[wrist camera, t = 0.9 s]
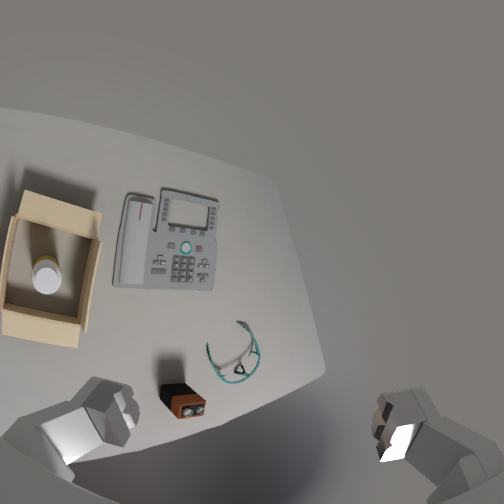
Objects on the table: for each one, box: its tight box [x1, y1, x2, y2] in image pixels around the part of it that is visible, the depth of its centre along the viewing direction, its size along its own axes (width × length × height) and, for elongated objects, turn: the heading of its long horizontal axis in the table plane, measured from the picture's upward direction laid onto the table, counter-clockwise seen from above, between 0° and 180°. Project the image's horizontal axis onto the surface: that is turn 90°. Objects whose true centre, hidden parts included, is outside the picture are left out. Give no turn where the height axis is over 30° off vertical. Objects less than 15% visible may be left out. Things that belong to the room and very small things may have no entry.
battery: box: [160, 383, 206, 419], centre depth 55 cm, size 4×7×10 cm, turn 73°
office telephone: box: [112, 190, 220, 291], centre depth 55 cm, size 23×3×20 cm
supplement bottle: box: [31, 255, 62, 294], centre depth 35 cm, size 5×5×10 cm
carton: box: [0, 190, 103, 348], centre depth 36 cm, size 16×24×8 cm, turn 161°
